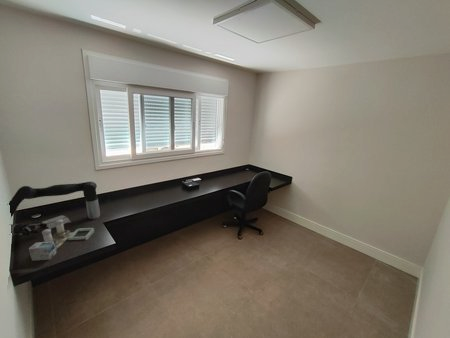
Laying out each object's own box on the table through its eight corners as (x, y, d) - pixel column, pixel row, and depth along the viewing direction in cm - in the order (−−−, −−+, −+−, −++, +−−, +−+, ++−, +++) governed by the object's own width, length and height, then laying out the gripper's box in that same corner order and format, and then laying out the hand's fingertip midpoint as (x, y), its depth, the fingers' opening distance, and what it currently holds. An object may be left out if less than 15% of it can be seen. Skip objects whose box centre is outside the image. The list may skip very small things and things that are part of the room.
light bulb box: (57, 254, 134) (54, 240, 131) (50, 261, 127) (47, 247, 124) (39, 255, 132) (35, 241, 129) (31, 262, 125) (27, 248, 122)
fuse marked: (60, 234, 152) (57, 219, 149) (67, 233, 153) (64, 219, 149) (56, 237, 148) (53, 222, 144) (63, 237, 149) (60, 222, 145)
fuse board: (57, 234, 154) (56, 230, 153) (73, 234, 156) (73, 229, 154) (36, 253, 134) (35, 248, 133) (56, 251, 136) (55, 247, 135)
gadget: (73, 225, 169) (72, 221, 168) (51, 233, 156) (50, 229, 155) (62, 216, 181) (62, 213, 180) (41, 223, 168) (40, 220, 167)
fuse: (48, 244, 140) (44, 229, 136) (55, 244, 141) (52, 228, 137) (44, 249, 136) (39, 232, 132) (51, 248, 136) (47, 232, 133)
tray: (78, 232, 158) (77, 228, 157) (94, 231, 160) (93, 227, 159) (69, 241, 146) (68, 237, 145) (86, 240, 148) (85, 236, 147)
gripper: (7, 230, 136) (33, 229, 139) (24, 219, 150) (48, 218, 152) (10, 239, 138) (36, 238, 141) (26, 228, 152) (50, 227, 154)
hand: (42, 228), depth 147 cm, fingers open, 8 cm apart
